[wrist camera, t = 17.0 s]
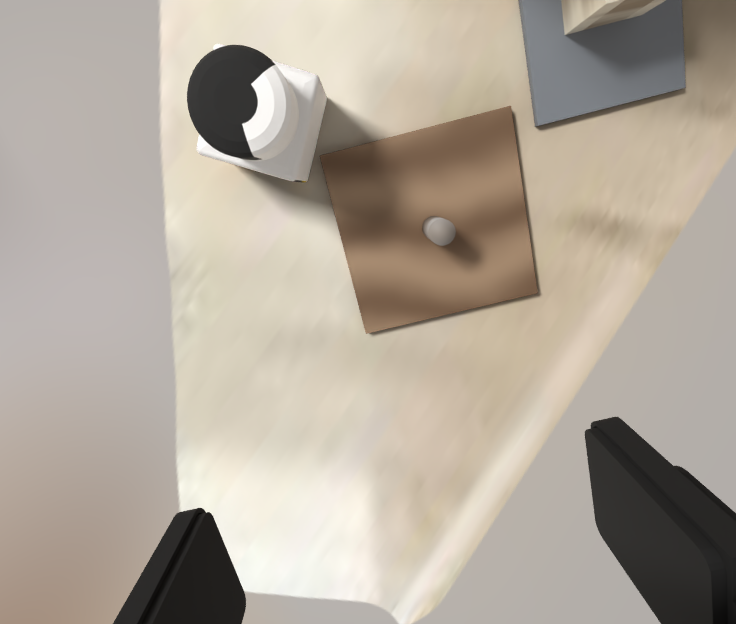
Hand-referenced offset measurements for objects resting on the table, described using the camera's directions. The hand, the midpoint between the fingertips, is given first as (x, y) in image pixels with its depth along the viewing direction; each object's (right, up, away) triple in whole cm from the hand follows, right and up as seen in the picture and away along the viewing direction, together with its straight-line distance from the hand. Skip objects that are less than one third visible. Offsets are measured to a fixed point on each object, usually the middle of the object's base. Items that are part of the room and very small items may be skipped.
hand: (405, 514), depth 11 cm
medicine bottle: (-9, +20, +26) cm, 34 cm away
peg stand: (+5, +12, +28) cm, 31 cm away
